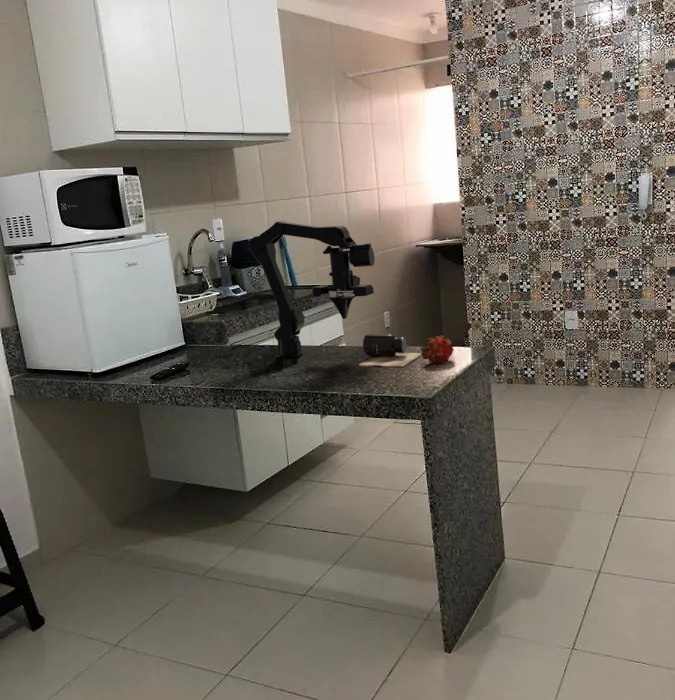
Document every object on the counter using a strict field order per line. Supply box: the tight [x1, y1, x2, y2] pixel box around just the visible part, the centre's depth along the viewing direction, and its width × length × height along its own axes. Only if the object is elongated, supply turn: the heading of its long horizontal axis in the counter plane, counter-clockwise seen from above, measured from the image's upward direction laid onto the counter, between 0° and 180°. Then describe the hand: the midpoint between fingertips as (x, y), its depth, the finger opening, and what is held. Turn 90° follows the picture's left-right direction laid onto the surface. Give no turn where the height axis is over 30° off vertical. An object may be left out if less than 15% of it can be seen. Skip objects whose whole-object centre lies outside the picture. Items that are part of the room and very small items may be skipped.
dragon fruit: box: [420, 334, 454, 365], centre depth 211 cm, size 8×8×12 cm
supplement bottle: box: [362, 333, 407, 357], centre depth 224 cm, size 7×7×12 cm
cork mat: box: [358, 352, 423, 368], centre depth 220 cm, size 14×16×1 cm
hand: (344, 318), depth 230 cm, fingers closed
